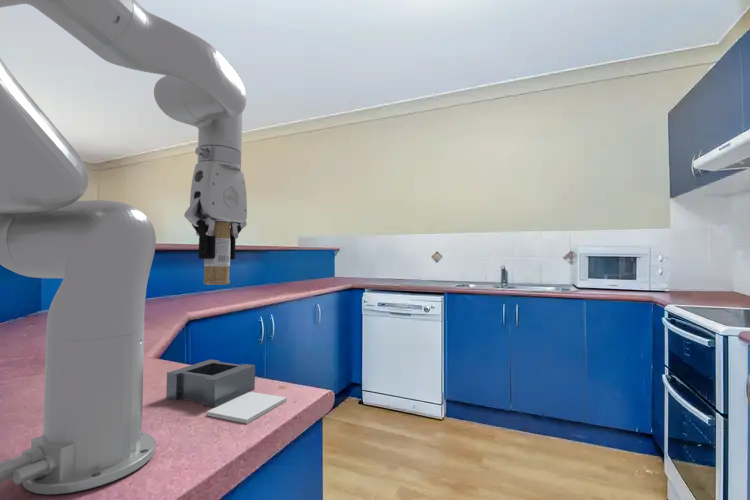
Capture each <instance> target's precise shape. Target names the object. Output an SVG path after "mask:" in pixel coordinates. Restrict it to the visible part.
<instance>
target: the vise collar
mask: <svg viewBox="0 0 750 500" xmlns="http://www.w3.org/2000/svg"><path fill="white" fill-rule="evenodd" d="M255 380H256V365H255V364H248V363H244V364H243V363H242V364H237V363H230V362H223V361H220V360H219V359H218V360H217V359H211V358H210V359H207V360H204V361H201V362H198V363H195V364H191V365H187V366H185V367H181V368H178V369H175V370H174V369H173V370H171V371H167V372H166V399H169V400H173V401H177V400H186V401H191V402H195V403H196V402H198V403H200V404H201V403H203V406H206V407H210V408H216V407H218V406H220V405H222V404H224V403H226V402H229V401H231V400H233V399H235V398H237V397H239V396H242V395H244V394H246V393H248V392H252V391H253V390H255V388H256V387H255V386H256V385H255V384H256V383H255V382H256V381H255Z"/></svg>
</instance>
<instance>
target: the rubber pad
mask: <svg viewBox="0 0 750 500" xmlns="http://www.w3.org/2000/svg"><path fill="white" fill-rule="evenodd" d="M285 402H287V397H284V396H280V395H273V394H265V393H260V392H253V391H249V392H247V393H245V394H243V395H240V396H238V397H236V398H234V399H232V400H229V401H227V402H225V403H223V404H221V405H219V406H216V407H212V408H211V409H209V410H207V411H206V416H208V417H212V418H213V417H214V418H217V419H223V420H227V421H233V422H237V423H242V424H249V423H251V422H252V421H254V420H256V419H258V418H260V417H261V416H263V415H264V414H266V413H268V412H270V411H272V410H274V409H276V408H277V407H279V406H280V405H282V404H284V403H285Z"/></svg>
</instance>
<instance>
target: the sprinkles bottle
mask: <svg viewBox="0 0 750 500" xmlns="http://www.w3.org/2000/svg"><path fill="white" fill-rule="evenodd" d="M206 218H209V216H206ZM230 223H231V221H227V220H220V219H216V221H215V226H214V231H213V235H212V236H215V258H214V259H203V260H204V261H203V265H204V266H203V267H204V273H203V274H204V275H203V279H204V280H203V284H204V285H207V286H208V285H209V286H215V285H216V286H221V285H222V286H225V285H229V284H230V282H231V281H230V267H231V260H230V228H231V227H230V225H231V224H230ZM206 226H207V223H206Z"/></svg>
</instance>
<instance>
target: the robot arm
mask: <svg viewBox="0 0 750 500" xmlns="http://www.w3.org/2000/svg"><path fill="white" fill-rule="evenodd" d="M18 5H28V6H31V7H33V8H34V9H37V10H38V12H41V13H42V14H43V15H44V16H45V17H46V18H49V19H50V20H51V21H52V22H54V23H55V24H57V25H58V26H59V27H61V28H62V29H63V30H64V31H66V32H67V33H68V34H70V35H71V36H72V37H73V38H75V39H76V40H77V41H79V42H80V43H81V44H82V45H84V46H86V48H88V49H89V50H91V51H92V52H93V53H94V54H96V55H97V56H98V57H99V58H101V59H102V60H104V61H105V62H108V63H109V64H113V65H116V66H119V67H122V68H126V69H130V70H134V71H138V72H145V73H149V74H155V75H156V74H157V75H162V77H161V78H159V79H158V80H157V81H156V82H155V84H154V86H153V96H154V100H155V102H156V105H157V107H158V108H159V109H160V110H161V111H162V112H163V113H164V114H165V115H166V116H168V117H169V118H171V119H172V120H175V121H177V122H180V123H183V124H186V125H189V126H192V127H196V128H197V130H198V134H197V135H198V140H197V147H195V151H194V152H195V154H196V155H197V163H196V164H195V166H194V170H193V174H192V179H191V186H190V194H189V195H190V198H189V206H188V208H187V209H186V211H185V212H184V218H185V219H186V220H187V221H188V222H189V223H190V224H191V226H192V228H193V229H194V230H195V235H196V236H197V237H198V259H200V260H201V259H202V260H204V259H214V258H215V236H212V235H213V231H214V226H215V221H216V219H220V220H227V221H231V223H230V224H231V225H230V261H231V260H233V261H234V260H235V259H236V240H237V239H238V238H239V234H240V232H242V230H243V229H244V228H245V227H246V226H247V225H248V223H247V218H248V201H247V197H248V196H247V187H246V180H245V175H244V172H243V171H242V146H243V141H242V139H243V138H242V137H243V135H242V134H243V112H244V110H245V108H246V106H247V93H246V89H245V86H244V84H243V82H242V80H241V78H240V77H239V76H238V74H237V72H236V71H235V69H234V68H233V67H232V65H230V64H229V61H227V60H226V59H225V57H224V56H223V55H222V54H221V52H220V51H218V50H217V49H216V47H214V46H213V45H212V44H210V43H209V42H207V41H206V40H205V39H203V38H201V37H199V36H198V35H196V34H194V33H192V32H191V31H188V30H186V29H184V28H182V27H180V26H179V25H176V24H175V23H172V22H170V21H168V20H166V19H164V18H162V17H159V16H157V15H155V14H153V13H151V12H149V11H147V10H146V9H145V8H143V6H142V5H140V3H138V1H136V0H0V8H5V7H6V8H7V7H10V6H11V7H12V6H18ZM88 185H89V173H88V169H87V167H86V166H85V163H84V162H83V159H82V158H81V156H80V155H79V154H78V152H77V151H76V149H74V147H73V146H72V145H71V143H70V142H69V141H68V140H67V139H66V137H65V136H64V135H63V134H62V132H61V131H60V130H59V129H58V128H57V126H55V124H54V123H53V122H52V120H51V119H49V117H48V116H47V115H46V114H45V112H44V111H43V110H42V109H41V107H40V106H39V105H38V104H37V103H36V102H35V101H34V99H33V98H32V97H31V96H30V95H29V93H28V92H27V91H26V90H25V89H24V88H23V85H21V84H20V82H18V80H17V79H16V77H15V76H14V75H13V73H12V72H11V70H10V69H8V66H7V65H6V64H5V62H4V61H3V60H2V59H1V57H0V265H1V266H2V267H4V268H5V269H7V270H9V271H12V272H14V273H15V274H17V275H21V276H24V277H27V278H28V277H29V278H37V279H62V281H61V283H60V285H59V287H58V289H57V291H56V293H55V294H54V296H53V299H52V301H51V303H50V306H49V309H48V312H47V318H46V326H45V327H46V328H45V339H46V340H45V358H44V359H45V364H44V390H43V393H44V394H43V396H44V397H43V421H42V423H43V424H42V425H43V426H42V435H40V436H36V437H34V438H32V439H31V440H30V441H31V442H30V448H28V449H25V450H24V451H22V452H21V455H19V456H16V457H14V458H10V459H5V460H3V461H0V484H1V483H4V482H6V481H8V480H11V479H12V480H13V482H14V484H15V485H20V484H22V486H23V488H25V489H26V491H29V492H31V493H34V494H37V495H39V494H40V495H64V494H72V493H76V492H81V491H87V490H89V489H90V490H91V489H93V488H97V487H101V486H104V485H107V484H109V483H112V482H115V481H118V480H119V479H122V478H123V477H126V476H128V475H130V474H132V473H133V472H135V471H137V470H138V469H140V468H141V467H143V466H144V465H145V464H146V463H147V462H149V461H150V460H151V459H152V457H154V455H155V452H156V445H157V443H156V442H157V441H156V439H155V438H154V437H153V435H151V434H150V433H147V432H143V402H144V401H143V397H144V395H143V393H144V392H143V391H144V388H143V387H144V359H145V357H144V352H145V314H146V313H145V310H146V298H147V288H148V287H147V286H148V281H149V277H150V272H151V268H152V264H153V260H154V257H155V251H156V247H157V246H156V243H157V240H156V239H157V236H156V231H155V228H154V225H153V223H152V222H151V220H150V218H149V217H148V216H147V214H145V213H144V212H143V211H141V210H140V209H139V208H137V207H135V206H133V205H131V204H129V203H124V202H121V201H114V200H104V199H103V200H97V199H96V200H79V199H81V198H82V196H84V194H85V193H86V192H87V189H88ZM206 216H209V218H206ZM206 223H207V226H206Z"/></svg>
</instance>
